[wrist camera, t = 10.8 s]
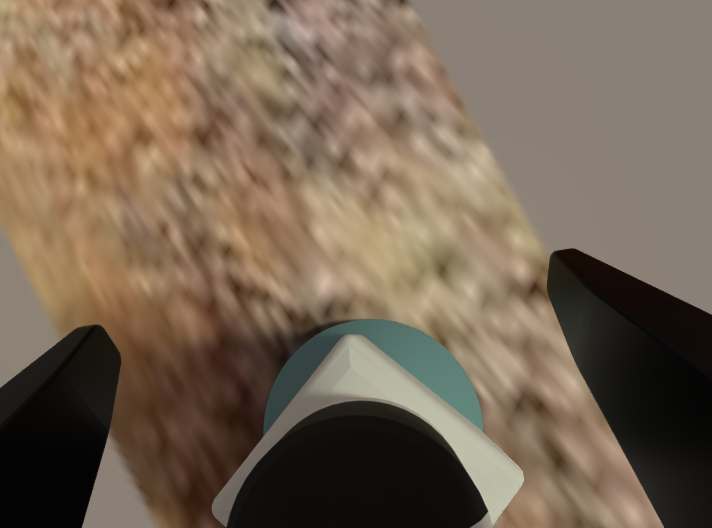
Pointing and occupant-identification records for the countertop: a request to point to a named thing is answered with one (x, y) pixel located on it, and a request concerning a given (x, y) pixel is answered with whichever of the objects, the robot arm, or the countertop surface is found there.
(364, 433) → the medicine bottle
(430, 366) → the coaster
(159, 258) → the countertop surface
